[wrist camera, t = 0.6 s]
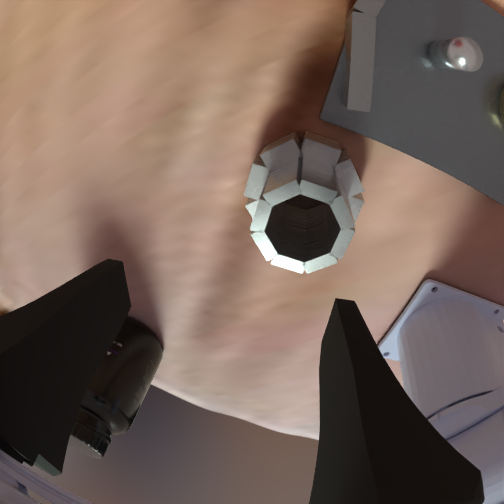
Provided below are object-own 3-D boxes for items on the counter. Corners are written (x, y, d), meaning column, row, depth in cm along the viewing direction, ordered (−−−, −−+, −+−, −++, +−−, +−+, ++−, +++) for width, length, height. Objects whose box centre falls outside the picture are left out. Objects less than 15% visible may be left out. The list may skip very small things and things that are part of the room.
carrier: (552, 65, 10) (591, 73, 7) (500, 201, 16) (531, 231, 13) (366, -50, 10) (380, -77, 7) (313, 114, 16) (314, 127, 13)
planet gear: (372, 155, 16) (396, 191, 12) (334, 243, 20) (339, 301, 15) (268, 119, 16) (252, 140, 12) (241, 213, 20) (219, 264, 15)
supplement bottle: (119, 300, 26) (49, 413, 16) (178, 349, 28) (131, 465, 18) (90, 328, 29) (32, 422, 19) (141, 369, 31) (97, 465, 21)
